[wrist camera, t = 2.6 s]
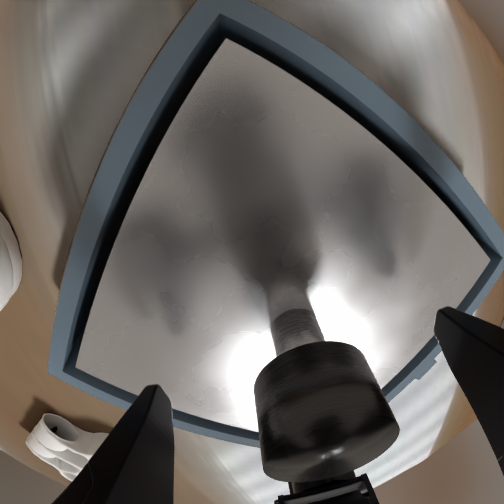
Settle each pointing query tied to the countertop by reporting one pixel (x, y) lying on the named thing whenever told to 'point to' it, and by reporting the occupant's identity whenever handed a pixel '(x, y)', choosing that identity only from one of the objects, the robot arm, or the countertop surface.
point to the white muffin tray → (63, 444)
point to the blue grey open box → (158, 122)
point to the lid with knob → (277, 271)
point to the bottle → (8, 262)
